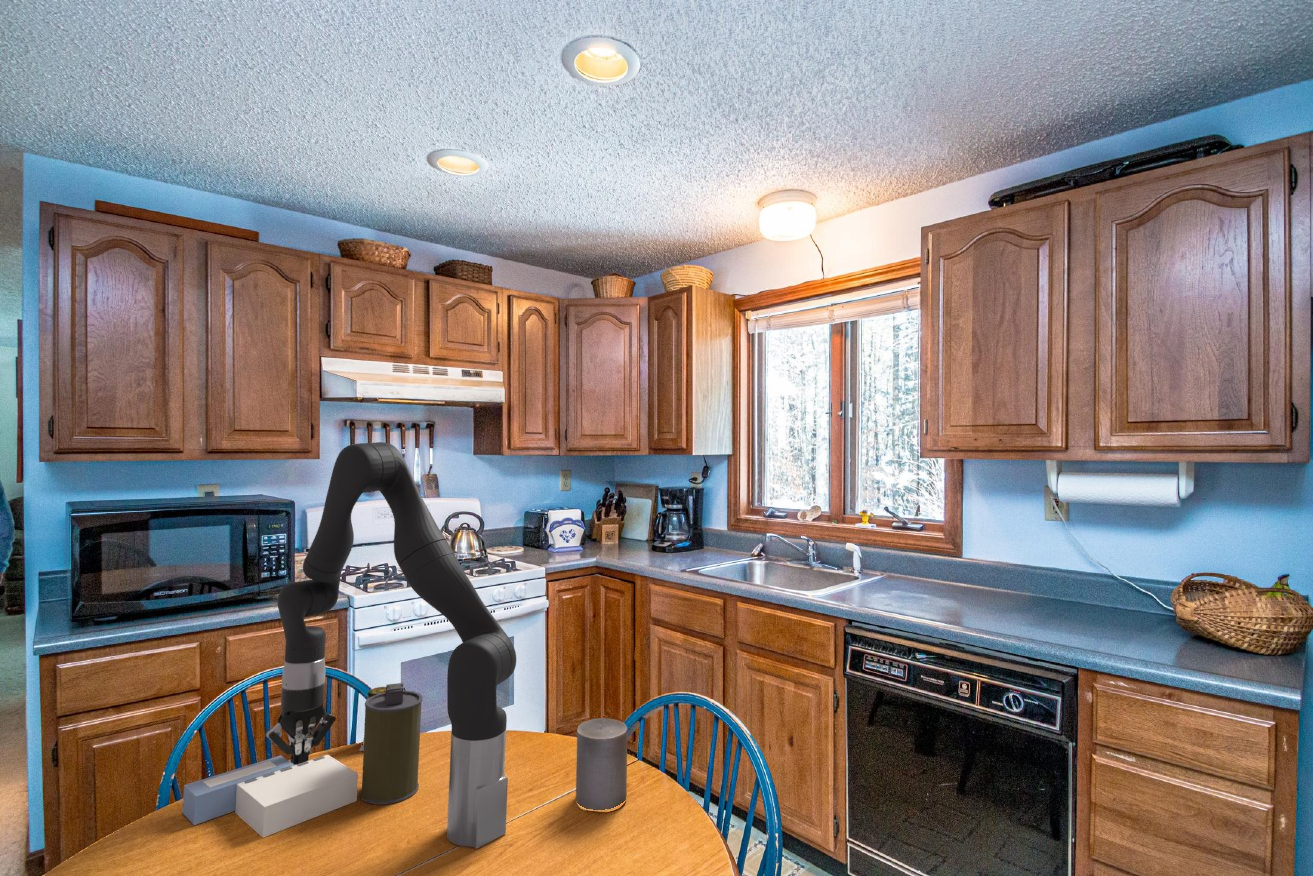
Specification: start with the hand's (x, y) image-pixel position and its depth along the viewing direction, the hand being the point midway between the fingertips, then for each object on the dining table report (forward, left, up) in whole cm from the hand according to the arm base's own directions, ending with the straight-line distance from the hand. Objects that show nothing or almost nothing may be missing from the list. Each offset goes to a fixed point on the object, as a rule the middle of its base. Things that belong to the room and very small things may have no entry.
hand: (299, 771), depth 127 cm
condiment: (+6, -20, -2) cm, 21 cm away
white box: (-9, +4, -2) cm, 10 cm away
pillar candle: (-49, -34, -2) cm, 60 cm away
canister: (-16, -10, -2) cm, 19 cm away
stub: (0, +10, -2) cm, 10 cm away
